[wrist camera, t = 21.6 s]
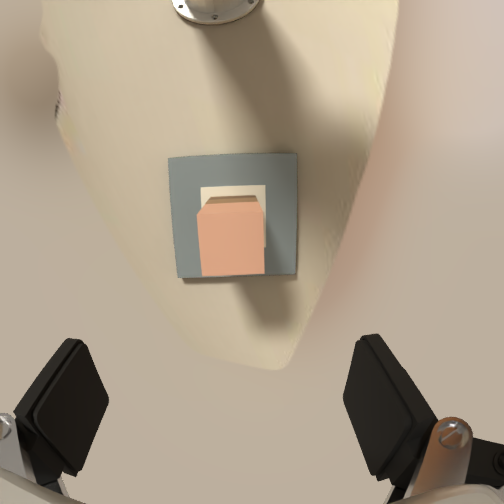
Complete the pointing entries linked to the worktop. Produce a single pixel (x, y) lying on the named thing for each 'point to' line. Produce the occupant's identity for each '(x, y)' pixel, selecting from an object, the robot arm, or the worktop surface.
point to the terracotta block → (231, 239)
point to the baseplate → (235, 184)
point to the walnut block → (231, 199)
